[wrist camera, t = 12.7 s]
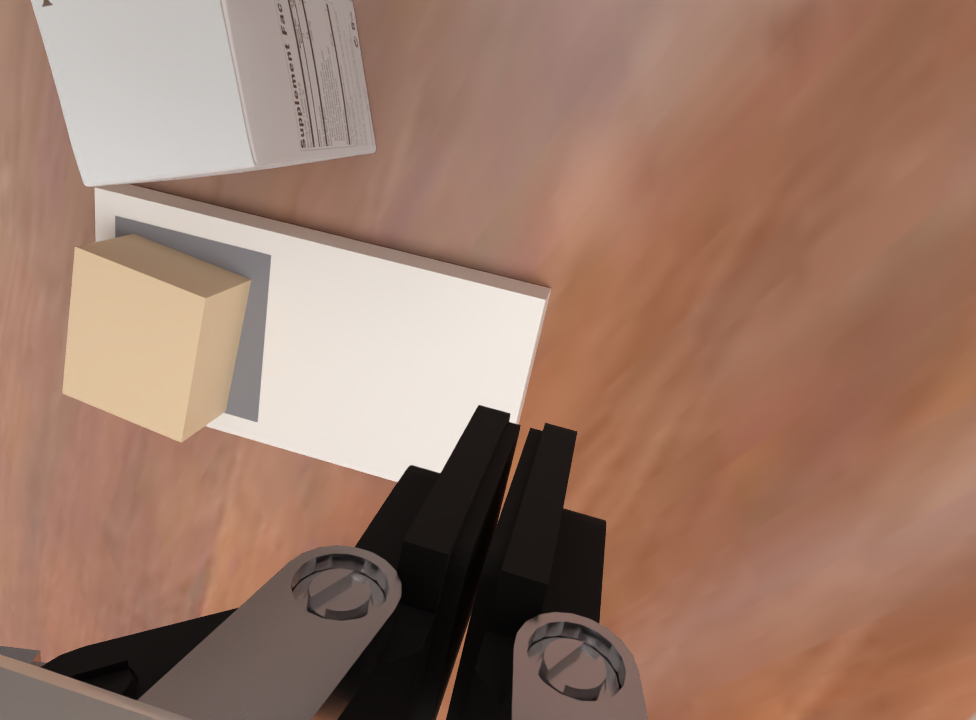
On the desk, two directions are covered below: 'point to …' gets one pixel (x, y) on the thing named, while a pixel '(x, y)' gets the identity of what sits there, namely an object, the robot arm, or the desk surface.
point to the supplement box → (205, 85)
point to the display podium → (349, 334)
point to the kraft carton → (153, 334)
